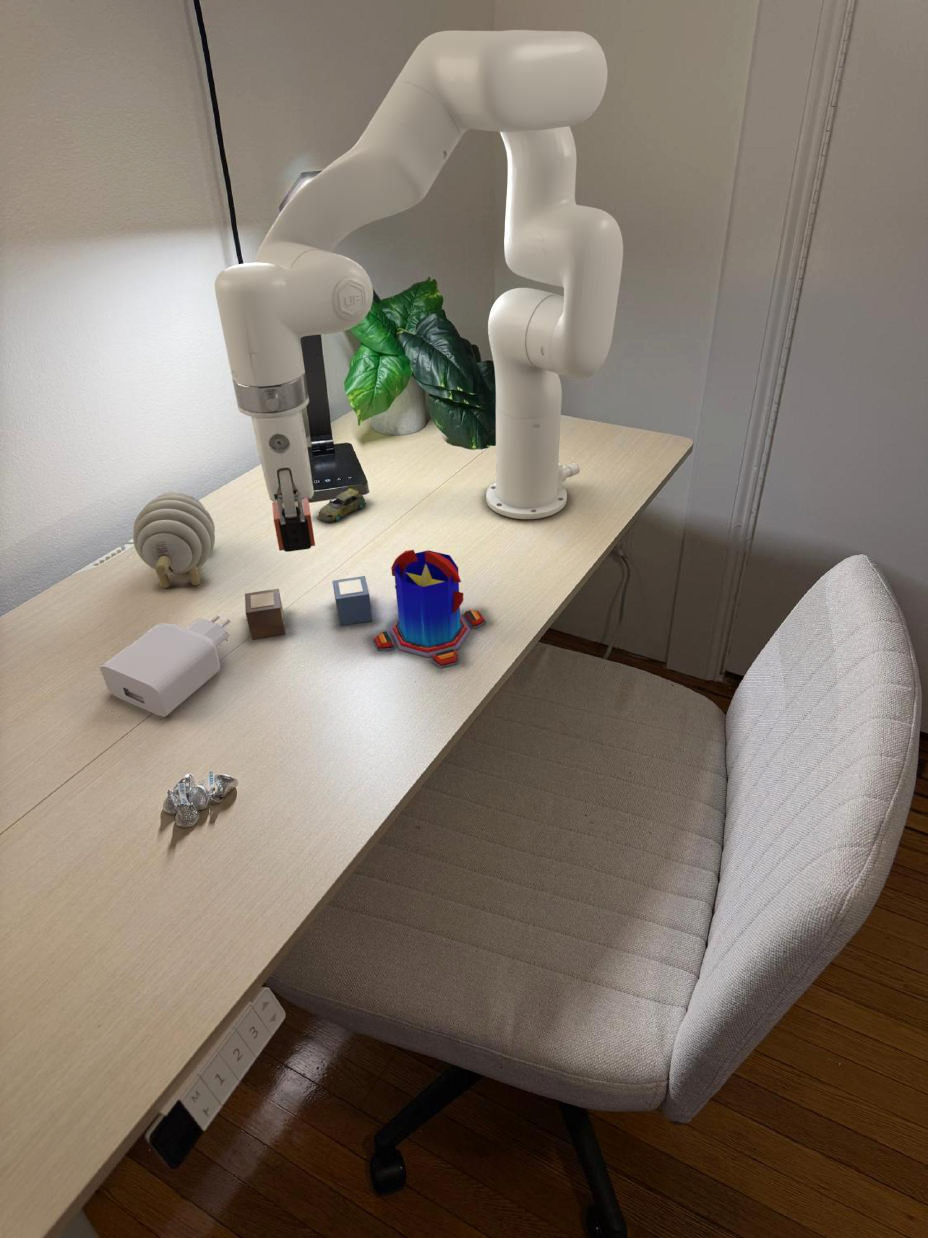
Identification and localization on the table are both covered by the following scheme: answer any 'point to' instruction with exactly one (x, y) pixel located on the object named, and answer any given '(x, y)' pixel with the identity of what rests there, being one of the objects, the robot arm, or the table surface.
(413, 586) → the fantasy tower
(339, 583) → the slate block
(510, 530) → the table surface
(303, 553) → the table surface
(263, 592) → the walnut block
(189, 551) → the toy sheep
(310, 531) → the terracotta block
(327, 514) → the race car
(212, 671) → the charger
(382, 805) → the table surface
